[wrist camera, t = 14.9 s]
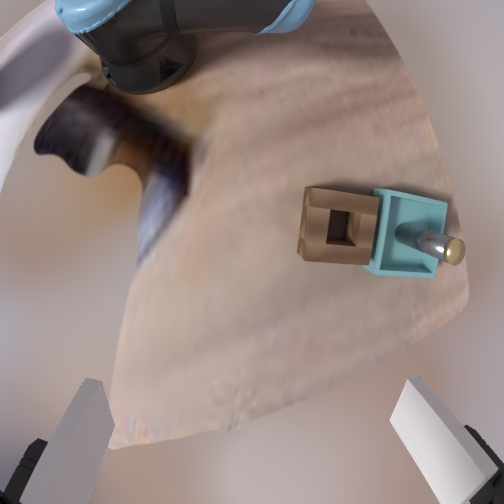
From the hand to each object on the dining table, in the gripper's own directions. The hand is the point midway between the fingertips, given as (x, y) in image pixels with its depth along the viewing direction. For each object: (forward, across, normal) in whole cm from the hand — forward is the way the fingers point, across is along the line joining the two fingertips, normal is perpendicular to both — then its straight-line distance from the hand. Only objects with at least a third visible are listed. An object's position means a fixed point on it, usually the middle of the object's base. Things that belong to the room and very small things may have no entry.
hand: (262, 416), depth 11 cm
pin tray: (+34, +28, +3) cm, 44 cm away
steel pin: (+33, +28, +3) cm, 43 cm away
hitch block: (+34, +14, +4) cm, 37 cm away
